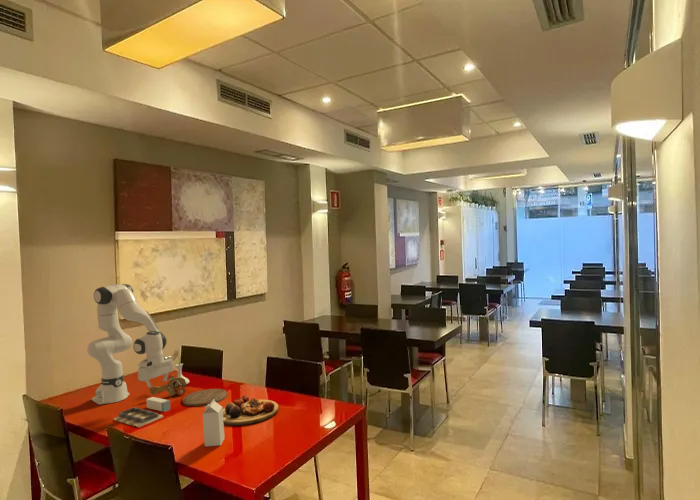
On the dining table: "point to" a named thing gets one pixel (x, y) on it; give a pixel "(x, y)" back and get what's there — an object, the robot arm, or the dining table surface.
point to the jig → (137, 417)
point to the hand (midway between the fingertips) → (157, 384)
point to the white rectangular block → (158, 404)
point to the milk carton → (213, 424)
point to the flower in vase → (179, 366)
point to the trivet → (204, 397)
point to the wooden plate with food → (248, 411)
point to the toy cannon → (171, 386)
